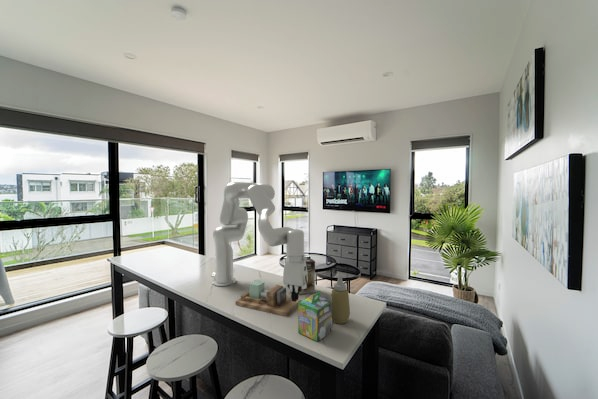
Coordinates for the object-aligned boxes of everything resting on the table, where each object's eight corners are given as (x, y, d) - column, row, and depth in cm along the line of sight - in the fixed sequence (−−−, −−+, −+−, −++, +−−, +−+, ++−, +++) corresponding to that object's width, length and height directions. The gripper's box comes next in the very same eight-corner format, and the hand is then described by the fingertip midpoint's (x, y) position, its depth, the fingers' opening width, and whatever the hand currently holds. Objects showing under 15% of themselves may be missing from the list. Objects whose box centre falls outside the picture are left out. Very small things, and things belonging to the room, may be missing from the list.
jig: (235, 304, 115) (235, 288, 115) (253, 293, 128) (253, 278, 127) (286, 316, 104) (286, 298, 104) (300, 302, 117) (300, 286, 117)
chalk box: (312, 323, 99) (312, 285, 99) (332, 331, 93) (332, 291, 93) (297, 333, 92) (297, 292, 92) (317, 343, 86) (317, 299, 86)
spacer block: (249, 298, 117) (249, 283, 117) (255, 294, 122) (255, 280, 121) (258, 300, 115) (258, 285, 115) (264, 296, 120) (264, 281, 119)
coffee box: (297, 294, 126) (297, 262, 125) (294, 289, 132) (294, 259, 132) (315, 292, 128) (315, 261, 128) (311, 288, 135) (311, 257, 134)
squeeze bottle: (347, 315, 105) (347, 272, 105) (352, 325, 97) (352, 279, 97) (328, 315, 105) (328, 272, 104) (331, 325, 97) (331, 279, 96)
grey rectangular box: (259, 300, 114) (259, 288, 114) (266, 295, 120) (266, 284, 120) (279, 305, 110) (279, 292, 110) (286, 299, 115) (286, 287, 115)
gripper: (314, 258, 110) (314, 300, 111) (283, 254, 116) (283, 294, 117) (307, 262, 103) (307, 307, 104) (275, 258, 109) (275, 300, 110)
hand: (294, 300), depth 110 cm, fingers closed
